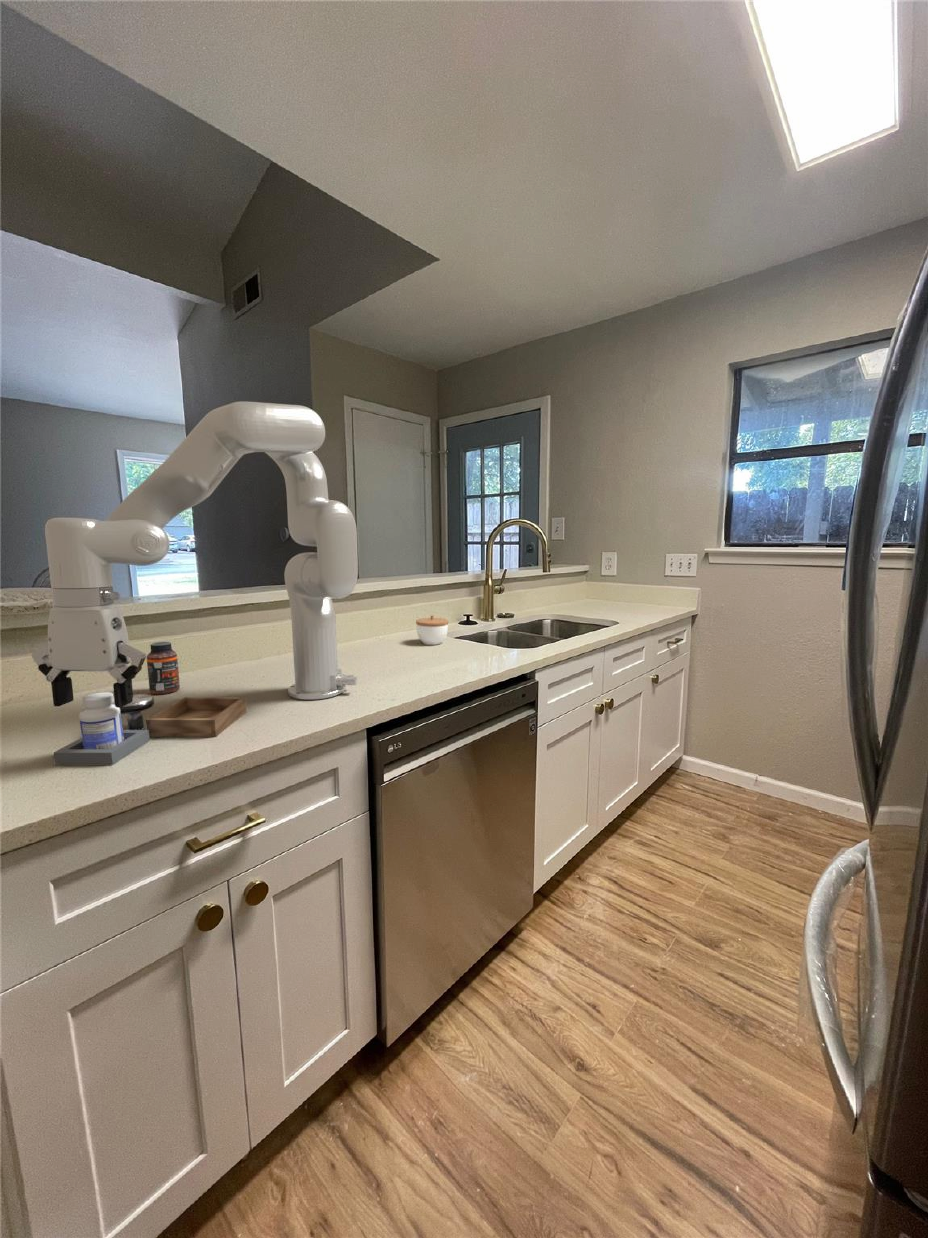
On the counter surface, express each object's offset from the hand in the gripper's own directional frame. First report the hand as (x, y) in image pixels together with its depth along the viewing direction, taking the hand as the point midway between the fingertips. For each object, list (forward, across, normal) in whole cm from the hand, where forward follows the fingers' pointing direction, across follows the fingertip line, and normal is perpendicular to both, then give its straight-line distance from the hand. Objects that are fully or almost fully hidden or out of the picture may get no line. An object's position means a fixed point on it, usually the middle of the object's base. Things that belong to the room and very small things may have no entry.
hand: (94, 704), depth 78 cm
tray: (+8, -10, -13) cm, 18 cm away
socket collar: (+8, 0, -1) cm, 8 cm away
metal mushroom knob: (+8, +1, -11) cm, 13 cm away
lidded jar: (+6, -49, -85) cm, 98 cm away
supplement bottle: (+8, +9, -33) cm, 35 cm away
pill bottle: (+9, 0, -1) cm, 9 cm away
